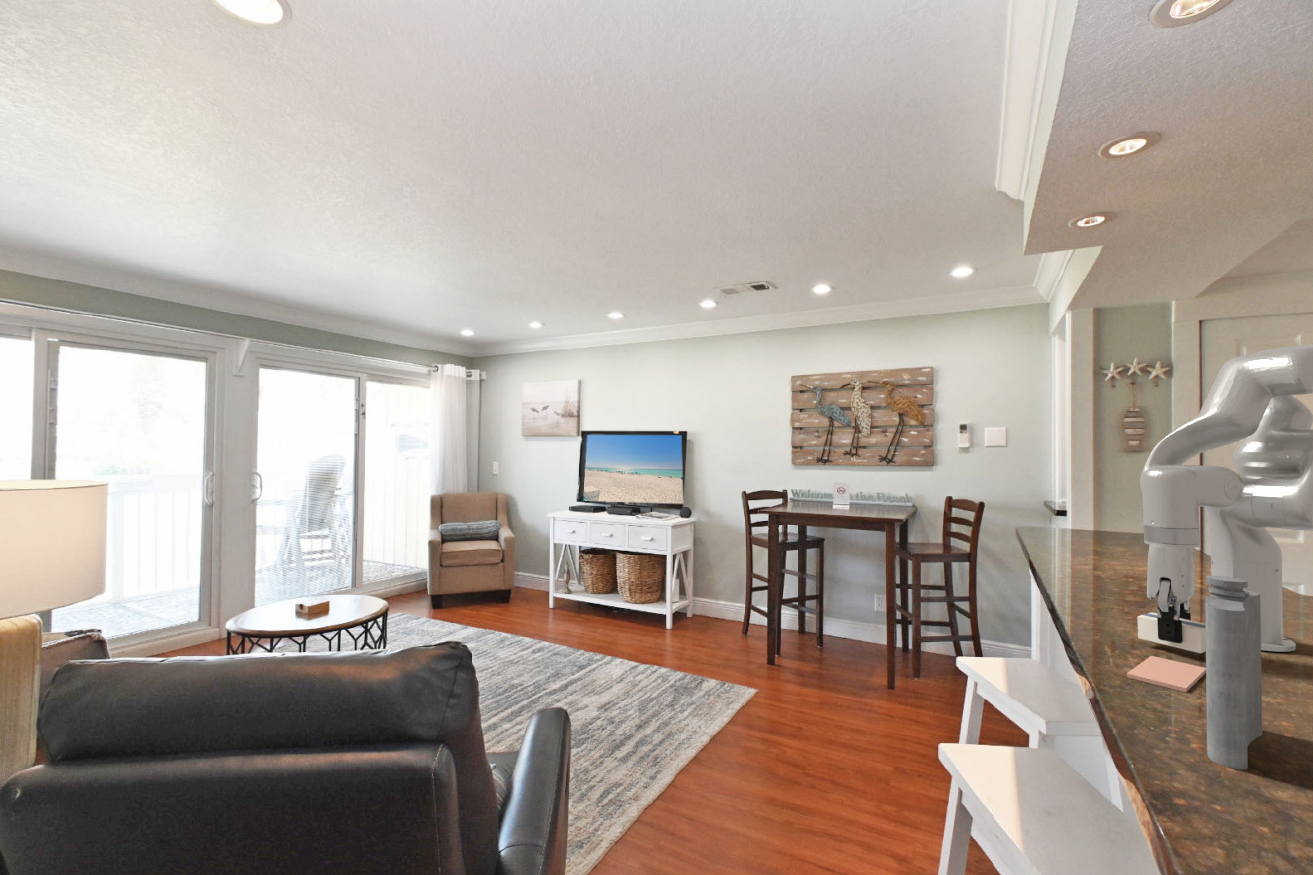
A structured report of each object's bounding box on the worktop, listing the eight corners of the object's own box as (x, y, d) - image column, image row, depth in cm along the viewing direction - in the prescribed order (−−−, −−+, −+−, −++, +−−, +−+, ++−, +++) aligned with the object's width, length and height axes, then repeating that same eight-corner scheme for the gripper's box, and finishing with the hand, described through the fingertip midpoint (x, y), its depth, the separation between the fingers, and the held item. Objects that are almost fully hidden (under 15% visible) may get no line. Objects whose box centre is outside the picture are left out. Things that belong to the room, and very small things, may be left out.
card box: (1152, 633, 109) (1151, 611, 109) (1214, 648, 101) (1213, 624, 101) (1138, 637, 106) (1137, 615, 107) (1200, 653, 98) (1199, 629, 98)
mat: (1151, 659, 99) (1151, 655, 99) (1206, 671, 94) (1206, 668, 94) (1126, 677, 91) (1126, 673, 91) (1186, 692, 85) (1186, 688, 85)
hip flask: (1245, 772, 63) (1243, 589, 64) (1195, 757, 67) (1193, 582, 67) (1263, 731, 73) (1261, 572, 74) (1219, 719, 76) (1217, 567, 77)
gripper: (1157, 529, 112) (1160, 622, 112) (1130, 539, 102) (1134, 642, 101) (1209, 533, 106) (1213, 632, 106) (1187, 544, 96) (1191, 654, 95)
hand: (1174, 636), depth 104 cm, fingers closed on card box, 5 cm apart
